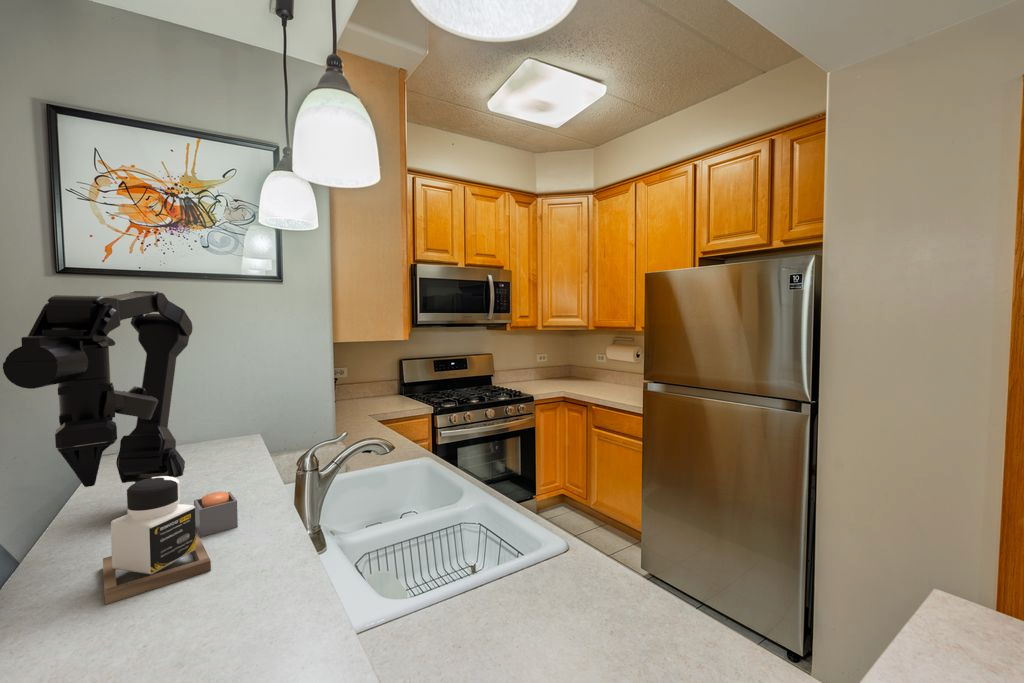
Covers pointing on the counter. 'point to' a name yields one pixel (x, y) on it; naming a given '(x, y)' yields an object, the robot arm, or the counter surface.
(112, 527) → the medicine bottle
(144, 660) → the counter surface
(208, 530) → the button housing
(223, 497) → the button
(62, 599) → the counter surface
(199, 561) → the frame
